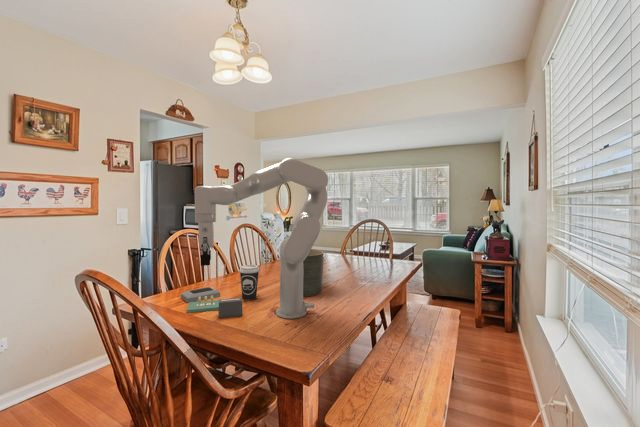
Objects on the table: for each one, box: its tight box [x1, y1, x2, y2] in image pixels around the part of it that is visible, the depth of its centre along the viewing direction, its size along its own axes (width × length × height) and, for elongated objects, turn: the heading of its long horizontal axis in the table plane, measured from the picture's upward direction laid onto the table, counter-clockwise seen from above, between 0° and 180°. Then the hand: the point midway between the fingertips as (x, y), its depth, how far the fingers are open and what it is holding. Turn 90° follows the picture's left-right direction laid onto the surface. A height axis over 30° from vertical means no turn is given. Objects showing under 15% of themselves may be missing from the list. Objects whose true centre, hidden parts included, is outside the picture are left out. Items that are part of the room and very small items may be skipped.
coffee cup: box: [239, 264, 261, 301], centre depth 143 cm, size 10×10×15 cm
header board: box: [186, 296, 220, 314], centre depth 130 cm, size 14×10×5 cm
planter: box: [303, 248, 325, 298], centre depth 156 cm, size 22×22×20 cm
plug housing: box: [218, 297, 243, 319], centre depth 122 cm, size 9×4×6 cm, turn 108°
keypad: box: [180, 286, 221, 304], centre depth 144 cm, size 10×4×15 cm
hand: (206, 262), depth 116 cm, fingers open, 9 cm apart
